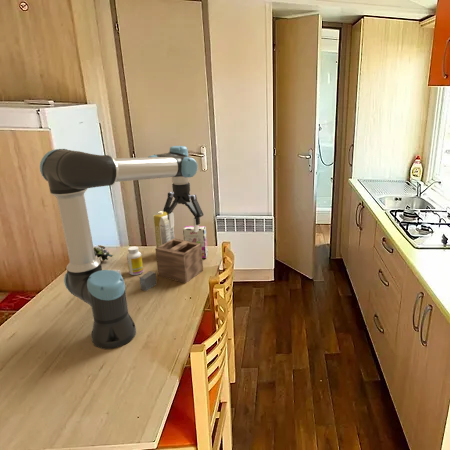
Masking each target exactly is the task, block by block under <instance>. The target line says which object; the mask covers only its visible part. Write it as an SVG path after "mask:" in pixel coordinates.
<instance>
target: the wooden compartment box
mask: <svg viewBox="0 0 450 450" xmlns="http://www.w3.org/2000/svg"><path fill="white" fill-rule="evenodd" d="M154 250H155V256H156V257H155V258H156V267H157V274H158V275H157V276H158V277H161V278H165V279H169V280H172V281H176V282H179V283H182V284H183V283H184V284H187V283H189V282H190V281H191V280H192V279H194V278H195V277H197V275H199V274H200V273H202V272H203V271H204V265H203V264H204V261H203V259H202V246H201V244H200V243H195V242H190V241H185V240H184V239H180V238H175V237H174V239H172V240H170V241H168V242H167V243H165V244H163V245H161V246H159V247H157V248H155V249H154Z"/></svg>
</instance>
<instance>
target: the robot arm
mask: <svg viewBox="0 0 450 450" xmlns="http://www.w3.org/2000/svg"><path fill="white" fill-rule="evenodd" d="M39 170H40V174H41V177H43V179H44V180H45V181H46V182H47V183H48V188H49V192H50V194H51V195H52V196H54V197H56V202H57V206H58V210H59V216H60V220H61V224H62V226H61V227H62V229H63V235H64V239H65V244H66V250H67V254H68V260H69V262H68V264H67V265H66V273H65V274H64V279H63V281H64V282H63V283H64V286H65V289H66V290H68V292H69V293H70V294H71V295H72V296H73V297H77V298H78V299H80V300H81V301H83V302H85V303H86V304H88V305H89V306H90V307H91V311H92V317H93V326H92V331H91V334H90V335H91V342H92V344H93V345H94V347H96V348H99V349H104V350H110V349H117V348H120V347H122V346H125V345H126V344H128V343H130V342H131V341H132V340H133V339H134V338H135V336H136V334H137V327H136V324H135V322H134V321H133V317H132V316H131V315H130V312H129V310H128V309H129V308H128V300H127V294H126V292H127V291H126V284H125V280H124V278H123V276H122V273H121V274H119V273H118V272H116V271H113V270H114V269H103V268H102V263H101V259H100V258H98V257H97V256H96V257H95V253H94V244H93V238H92V232H91V227H90V226H91V225H90V221H89V215H88V209H87V204H86V199H85V193H86V192H87V190H88V189H93V188H100V187H106V186H107V187H109V186H110V187H111V186H113V185H114V184H115V183H116V182H117V183H118V182H129V181H141V180H152V179H153V180H154V179H164V178H171V183H172V184H171V185H172V186H171V187H172V191H170V192H167V198H166V201H165V204H164V206H163V209H162V211H163V212H167V215H168V220H169V227H170V228H172V227H175V214H174V212H173V211H174V210H175V208H176V207H177V206H178V205H184V206H186V207H187V208H188V210H189V211H190V213H191V214H192V216H193V219H192V220H193V221H192V223H193V226H194V232H195V233H196V232H197V231H199V226H200V224H201V217H203V216H204V212H203V210H202V208H201V206H200V204H199V201H198V198H197V195H196V194H191V193H190V191H191V184H190V178H193V177H194V176H195V175H196V174H197V171H198V162H197V161H196V159H195V158H193V157H189V152H188V147H187V146H185V145H173V146H170V147H169V152H165V153H159V154H152V155H149V156H147V157H118V158H117V157H116V158H115V157H114V158H113V156H111V155H108V154H106V155H105V154H104V155H101V154H95V153H89V152H84V151H79V150H71V149H66V148H58V149H57V148H56V149H51V150H49V151H48V152H45V154H44V155H43V157H42V158H41V160H40V163H39ZM173 199H174V200H173ZM99 259H100V260H99ZM108 270H110V271H108Z"/></svg>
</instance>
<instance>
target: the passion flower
mask: <svg viewBox="0 0 450 450" xmlns="http://www.w3.org/2000/svg"><path fill="white" fill-rule="evenodd" d="M97 246H98V247H96V246H95V247H94V246H93V248H94V253H95V257H96V258H98V259H99V260H100V261H101V259H102V261H106V260H107V261H108V260H109V257H110V258H112V257H113V254H110V252H109V251H108V249H106V247H105V245H104V246H103V245H97Z"/></svg>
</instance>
